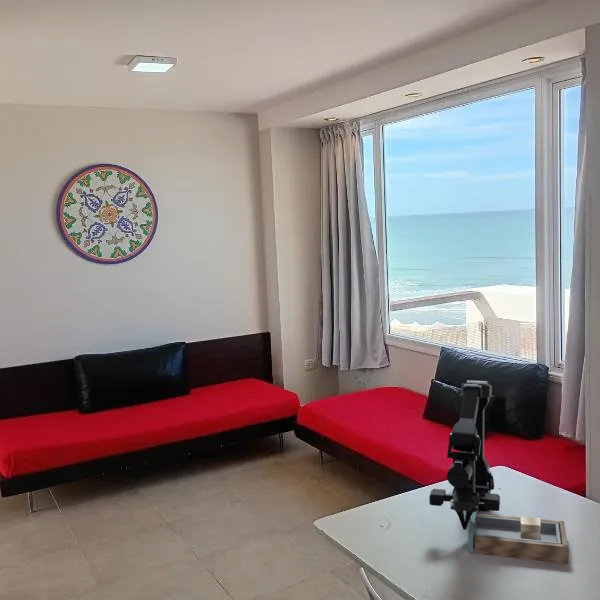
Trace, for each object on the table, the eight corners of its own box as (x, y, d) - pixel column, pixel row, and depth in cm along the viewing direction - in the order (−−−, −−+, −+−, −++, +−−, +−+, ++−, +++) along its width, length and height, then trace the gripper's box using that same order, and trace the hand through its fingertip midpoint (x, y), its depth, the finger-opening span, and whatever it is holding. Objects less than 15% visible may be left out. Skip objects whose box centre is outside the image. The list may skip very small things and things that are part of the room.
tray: (468, 552, 186) (468, 534, 186) (472, 527, 201) (472, 510, 201) (561, 561, 179) (561, 543, 179) (557, 535, 195) (558, 517, 194)
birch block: (520, 541, 187) (520, 523, 187) (520, 533, 192) (520, 516, 192) (540, 543, 186) (540, 525, 185) (539, 535, 191) (540, 518, 190)
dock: (475, 553, 186) (475, 537, 185) (478, 528, 201) (478, 513, 201) (567, 563, 179) (567, 546, 178) (563, 536, 194) (564, 521, 194)
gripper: (426, 482, 188) (427, 538, 189) (498, 488, 182) (498, 545, 184) (431, 468, 198) (432, 521, 200) (500, 473, 193) (500, 528, 194)
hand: (464, 529), depth 194 cm, fingers closed
